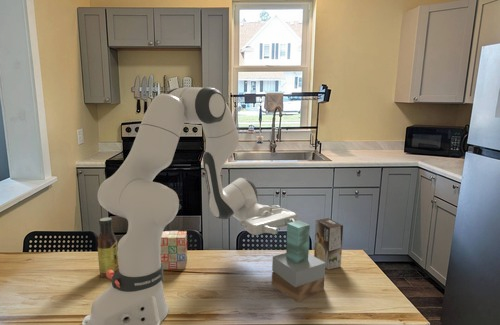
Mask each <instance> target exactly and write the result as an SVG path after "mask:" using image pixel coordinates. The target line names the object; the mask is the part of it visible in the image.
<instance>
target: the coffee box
mask: <svg viewBox="0 0 500 325" xmlns="http://www.w3.org/2000/svg"><path fill="white" fill-rule="evenodd" d="M314 226H315V229H314V230H315V231H314V250H313V252H314V254H313V256H314V257H316V258H318V259H320V260H321V261H323V262H325V270H331V269H336V268H341V267H342V253H343V252H342V251H343V235H344V234H343V232H344V225H343V224H341V223H339V222H337V221H334V220H333V219H331V218H329V217H328V218H320V219H318V220H315V225H314Z"/></svg>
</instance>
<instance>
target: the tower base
mask: <svg viewBox="0 0 500 325" xmlns="http://www.w3.org/2000/svg"><path fill="white" fill-rule="evenodd" d="M271 286H272V287H274V288H275V289H277V290H279V291H280V292H282V293H283V294H285V295H287V297H288V296H289V298H291V299H293V300H295V301H296V302H297V303H300V302H301V301H303V300H306V299H307V298H309V297H311V296H313V295H315V294H318V292H321V291H323V290H324V289H325V277H324V278H321V279H319V280H316V281H313V282H310V283H307V284H304V285H301V286H299V287H296V288H295V287H294V286H293V285H291V284H290V283H289V282H287V281H286V280H284V279H283V278H282V277H280V276H279V275H277V274H276V273H275V272H273V271H272V272H271Z"/></svg>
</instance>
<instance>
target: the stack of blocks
mask: <svg viewBox="0 0 500 325" xmlns="http://www.w3.org/2000/svg"><path fill="white" fill-rule="evenodd" d="M161 263H162V267H163V270H186V268H187V263H188V234H187V230H184V231H183V230H181V231H180V230H165V231H164V230H163V233H162V237H161Z"/></svg>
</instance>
